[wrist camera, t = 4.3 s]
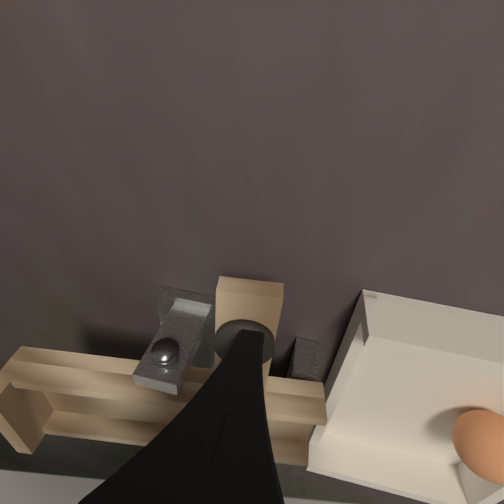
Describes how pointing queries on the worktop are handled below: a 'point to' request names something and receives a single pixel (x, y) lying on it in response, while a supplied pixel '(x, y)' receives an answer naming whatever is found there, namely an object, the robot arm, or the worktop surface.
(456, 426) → the egg
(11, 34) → the worktop surface
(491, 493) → the dish
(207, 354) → the pivot base
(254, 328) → the lever
